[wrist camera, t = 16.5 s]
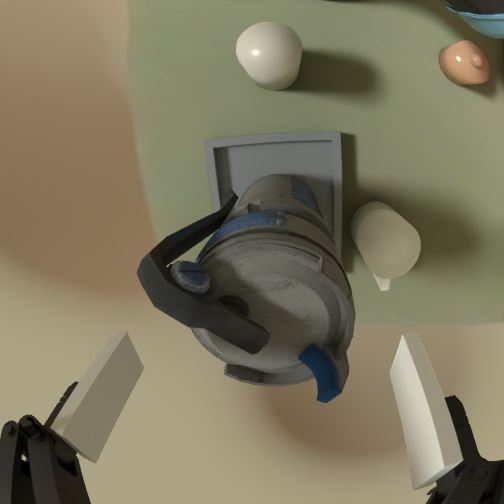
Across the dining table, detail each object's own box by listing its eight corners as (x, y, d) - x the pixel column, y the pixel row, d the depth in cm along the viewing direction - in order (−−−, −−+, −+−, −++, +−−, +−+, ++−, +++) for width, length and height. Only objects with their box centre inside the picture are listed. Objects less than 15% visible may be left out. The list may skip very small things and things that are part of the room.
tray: (208, 140, 32) (203, 140, 31) (337, 131, 30) (340, 131, 28) (226, 273, 40) (223, 280, 38) (337, 270, 38) (339, 277, 36)
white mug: (350, 201, 34) (366, 221, 26) (399, 201, 33) (424, 220, 25) (348, 265, 37) (359, 296, 30) (393, 262, 36) (412, 292, 29)
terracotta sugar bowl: (435, 43, 22) (458, 32, 16) (466, 52, 21) (491, 45, 15) (441, 81, 24) (467, 76, 18) (472, 89, 23) (499, 87, 17)
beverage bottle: (251, 145, 32) (160, 188, 9) (339, 205, 33) (416, 349, 11) (210, 211, 36) (102, 343, 13) (293, 264, 38) (291, 435, 15)
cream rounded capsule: (247, 50, 27) (233, 25, 19) (295, 46, 26) (298, 20, 18) (251, 92, 29) (239, 80, 21) (301, 89, 28) (305, 74, 20)
